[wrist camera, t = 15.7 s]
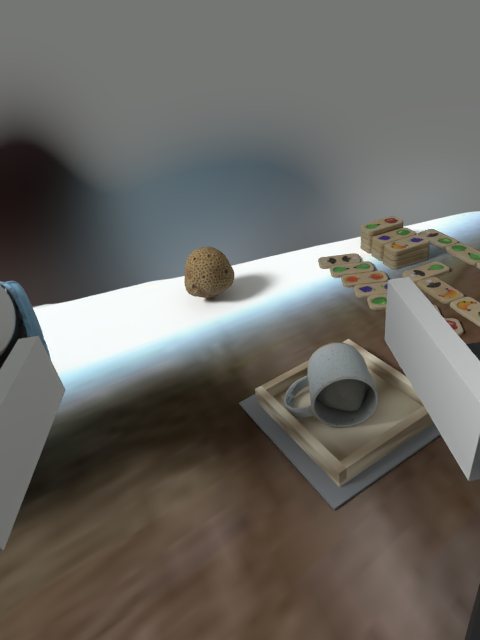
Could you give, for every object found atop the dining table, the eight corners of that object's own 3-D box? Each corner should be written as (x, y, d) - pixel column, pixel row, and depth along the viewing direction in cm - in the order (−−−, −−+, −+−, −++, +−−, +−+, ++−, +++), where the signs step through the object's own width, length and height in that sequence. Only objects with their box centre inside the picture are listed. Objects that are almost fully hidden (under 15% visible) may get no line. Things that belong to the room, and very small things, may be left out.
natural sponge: (246, 288, 84) (238, 240, 78) (222, 313, 78) (212, 263, 72) (207, 282, 88) (197, 236, 83) (181, 305, 82) (169, 257, 77)
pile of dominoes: (312, 263, 90) (310, 238, 87) (424, 230, 95) (426, 205, 92) (424, 358, 62) (428, 326, 59) (574, 303, 67) (585, 271, 64)
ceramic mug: (362, 378, 58) (362, 331, 54) (379, 424, 51) (380, 375, 47) (283, 387, 59) (276, 342, 54) (288, 435, 52) (282, 387, 48)
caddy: (257, 402, 58) (254, 389, 56) (348, 352, 64) (348, 339, 62) (339, 487, 46) (339, 473, 44) (442, 416, 52) (445, 401, 50)
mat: (239, 404, 58) (238, 402, 58) (351, 343, 66) (351, 341, 65) (334, 510, 44) (334, 508, 44) (465, 417, 51) (465, 415, 51)
